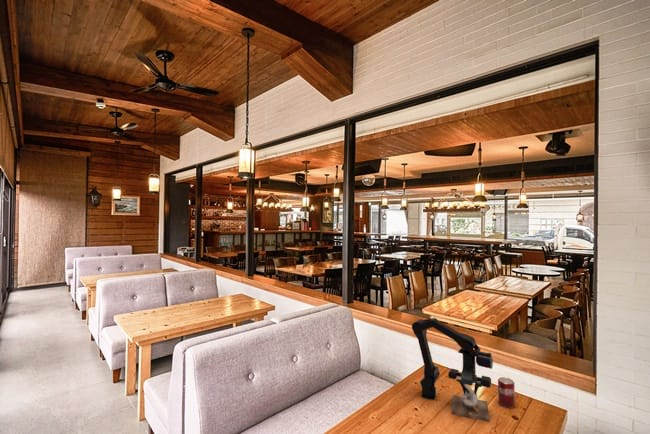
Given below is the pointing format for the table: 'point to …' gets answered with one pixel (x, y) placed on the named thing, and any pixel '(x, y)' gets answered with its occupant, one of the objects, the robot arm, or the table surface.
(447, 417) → the table surface
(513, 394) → the soda can
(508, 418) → the table surface
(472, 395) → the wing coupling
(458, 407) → the post base
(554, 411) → the table surface
